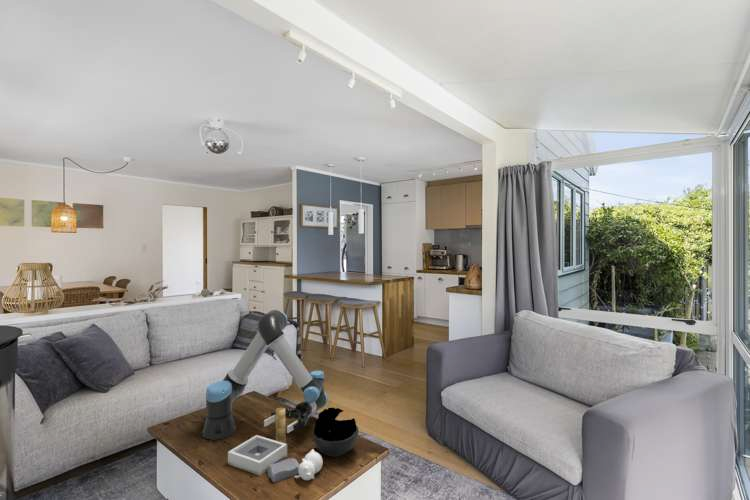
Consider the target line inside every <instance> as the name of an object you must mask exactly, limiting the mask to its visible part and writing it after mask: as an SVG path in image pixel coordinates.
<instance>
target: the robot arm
mask: <svg viewBox="0 0 750 500" xmlns="http://www.w3.org/2000/svg"><path fill="white" fill-rule="evenodd" d="M286 326H288V316H287V314H286V313H285V311H282V310H279V309H273V310H269V311H268V312H267V313H265V314H263V315H262V316H261V317H260V318H259V319H258V321H257V328H256V332H257V333H256V334H255V336H254V337H253V339H252V340H251V342H250V344H249V345H248V346H247V348H246V350H244V353H243V354H242V356H241V357H240V359H239V360H238V362H237V363H236V365H235V367H234V368H233V369H229V370H228V372H227V373H226V375H225V376H224V378H222V379H223V380H219V381H216V382H213V383H211V384H209V385H208V387H207V388H206V392H205V405H206V407H205V411H206V414H205V416H206V419H205V422H204V426H203V428H202V438H203V437H204V438H203V439H205V438H206V439H205V440H207V439H210V440H209V441H216V440H222V439H225V438H226V439H227V438H228V437H230V436H232V435H234V434H235V432H236V430H237V425H236V421H235V419H234V416H233V402H234V401H235V400H237V399H238V397H240V396H241V395H242V394H243V392H244V391H245V389H246V386H247V384H248V383H249V376H250V374H251V373H252V371H253V370H254V368H255V367H256V365H257V364H258V363H259V361H260V359H261V358H262V356H263V355H264V354H265V352H266V350H267V349H268V347H271V348H272V349H271V350H273V352H274V354H276V356H277V358H278V359H279V361H280V362H281V364H283V367H284V368H285V369H286V370H287V372H288V373H289V375H290V376H291V377H292V379H293V380H294V382H295V383H296V385H297V386H298V387H299V389H300V391H301V392H302V397H303V401H301V402H300V403H297V404H296V406H295V407H294V408H293V409H291V408H290V407H286V408H285V416H286V419H294V420H295V421H294V422H292V423H290V424H289V425H288V426H286V434H289V433H290V432H292V431H294V430H296V429H297V428H300V427H303V428H306V425H307V423H308V420H310V418H311V415H312V414H313V413H315V412H317V411H319V410H321V409H323V408H324V407H325V406H326V405H327V404H328V402H329V396H328V394H327V393H326V392H325V373H324V371H322V370H312V371H310V372H309V371H308V369H307V368H306V366H305V365H304V364H303V362H302V360H301V359H300V358H299V357H298V355H297V354H296V352H295V350H294V349H293V348H292V347H291V345H290V344H289V342H288V341H287V339H286V338H285V333H284V332H283V330H284V329H286ZM296 419H297V420H296ZM274 422H276V411H274V412H271V413H270V416H269V417H268V418H266V419H264V420H263V426H264V427H268V426H269V425H271V424H272V423H274Z"/></svg>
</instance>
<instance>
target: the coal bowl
mask: <svg viewBox="0 0 750 500" xmlns="http://www.w3.org/2000/svg"><path fill="white" fill-rule="evenodd" d="M342 412H344V410H343V409H341V408H339V407H338V408H335V407H327V408H324V409H323V410H322V411H320V412H319V413H318V416H317V420H316V421H315V422H314V423H315V425H314V429H312V438H313V439H312V440H313V442H314V445H315V446H316V448H317V449H318V450H319V451H320V452H321V453H322V454H324V455H325V456H328V457H334V458H335V457H341V456H343V455H345V454H347V453H348V452H350V450H351V449H353V448H354V446H355V445H356V444H357V443H356V442H357V440H358V437H359V432H360V431H359V426H358V425H357V423H356V422H357V421H356V419H355V418H354V417H353V418H352V419H342V420H341V419H337V418H338V416H339V415H340V413H341V414H342Z"/></svg>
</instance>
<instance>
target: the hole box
mask: <svg viewBox="0 0 750 500" xmlns="http://www.w3.org/2000/svg"><path fill="white" fill-rule="evenodd" d="M287 456H288V443H286V444H285V443H282V442H278V441H276V439H271V438H267V437H265V436H261V435H258V434H256V435H253V436H252V437H250V439H247V440H245V441H244V442H242V443H240V444H238V445H237V446H236V447H233V448H232V449H230V450H228V451H227V465H230V466H232V467H235V468H237V469H241V470H244V471H246V472H249V473H252V474H255V475H257V476H261V475H263V474H264V473H265V472H268V466H269V465H270V464H275V463H279V462H281V461H282V460H284V459H285V458H286V457H287Z"/></svg>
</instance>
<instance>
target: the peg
mask: <svg viewBox="0 0 750 500" xmlns="http://www.w3.org/2000/svg"><path fill="white" fill-rule="evenodd" d="M285 409H286V408H285V407H278V408H276V409H275V412H276V420H275V441H278V442H282V443H285V444H287V440H286V439H287V438H286V437H287V426H286V425H287V424H286V423H287V421H286V419H287V418H286V416H285Z"/></svg>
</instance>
